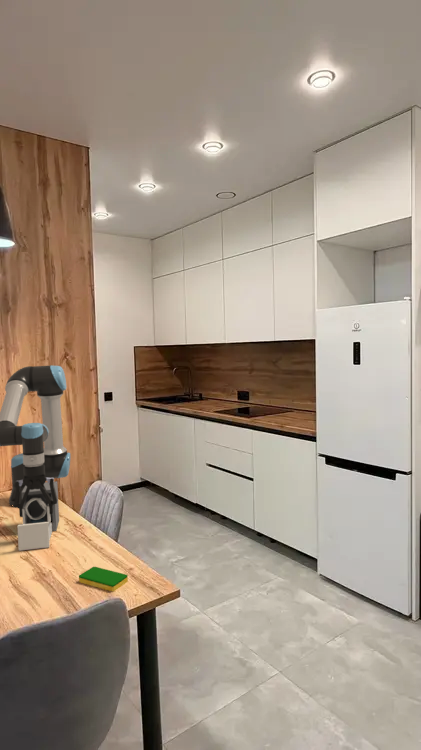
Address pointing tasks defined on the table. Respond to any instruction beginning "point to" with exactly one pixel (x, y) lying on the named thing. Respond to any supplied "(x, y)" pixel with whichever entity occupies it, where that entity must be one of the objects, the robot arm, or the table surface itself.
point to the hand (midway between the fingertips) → (37, 523)
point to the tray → (34, 535)
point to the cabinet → (36, 509)
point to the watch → (38, 518)
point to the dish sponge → (103, 578)
